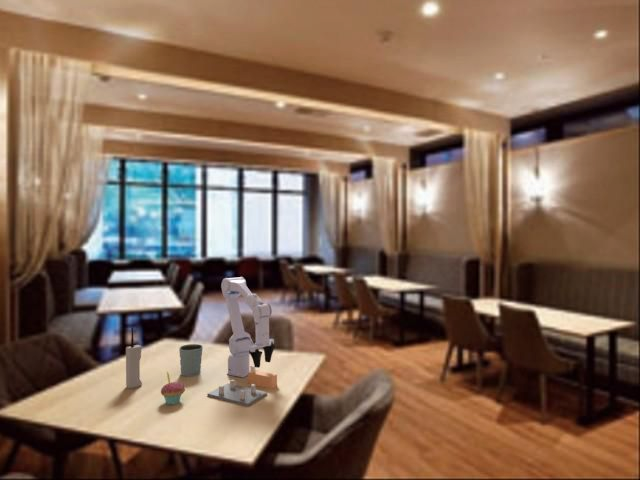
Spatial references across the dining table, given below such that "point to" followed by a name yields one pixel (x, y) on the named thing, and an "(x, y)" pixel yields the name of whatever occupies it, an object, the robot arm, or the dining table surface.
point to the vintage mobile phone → (133, 365)
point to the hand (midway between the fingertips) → (262, 364)
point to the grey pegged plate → (237, 394)
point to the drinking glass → (190, 359)
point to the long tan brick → (262, 378)
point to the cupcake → (172, 391)
